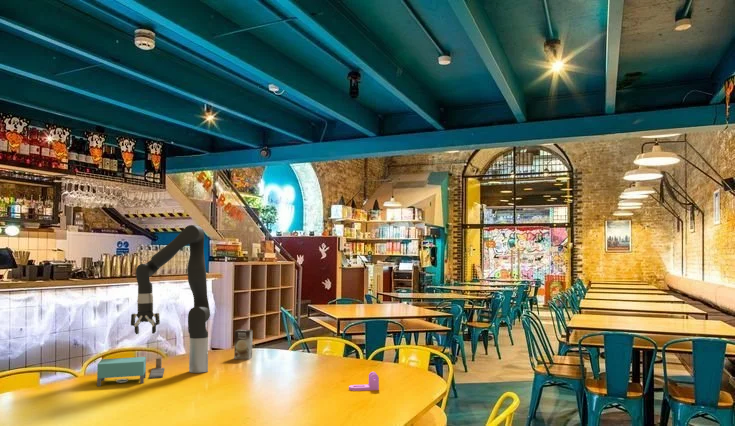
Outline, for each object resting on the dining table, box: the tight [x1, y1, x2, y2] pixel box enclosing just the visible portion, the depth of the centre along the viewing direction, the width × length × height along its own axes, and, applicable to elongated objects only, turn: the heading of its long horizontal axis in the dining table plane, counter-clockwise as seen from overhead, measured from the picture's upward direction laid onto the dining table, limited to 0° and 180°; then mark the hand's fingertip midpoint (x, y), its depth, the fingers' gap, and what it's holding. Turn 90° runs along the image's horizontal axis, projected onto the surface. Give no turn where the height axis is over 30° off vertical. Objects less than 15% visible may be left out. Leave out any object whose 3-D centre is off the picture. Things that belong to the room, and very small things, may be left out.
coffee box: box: [233, 328, 253, 360], centre depth 341 cm, size 9×6×16 cm
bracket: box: [348, 371, 380, 392], centre depth 264 cm, size 13×6×7 cm, turn 98°
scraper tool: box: [149, 355, 165, 380], centre depth 303 cm, size 28×6×6 cm, turn 16°
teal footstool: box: [96, 356, 147, 387], centre depth 282 cm, size 20×13×10 cm, turn 106°
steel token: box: [115, 378, 129, 384], centre depth 282 cm, size 5×5×1 cm
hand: (145, 333), depth 307 cm, fingers open, 8 cm apart
